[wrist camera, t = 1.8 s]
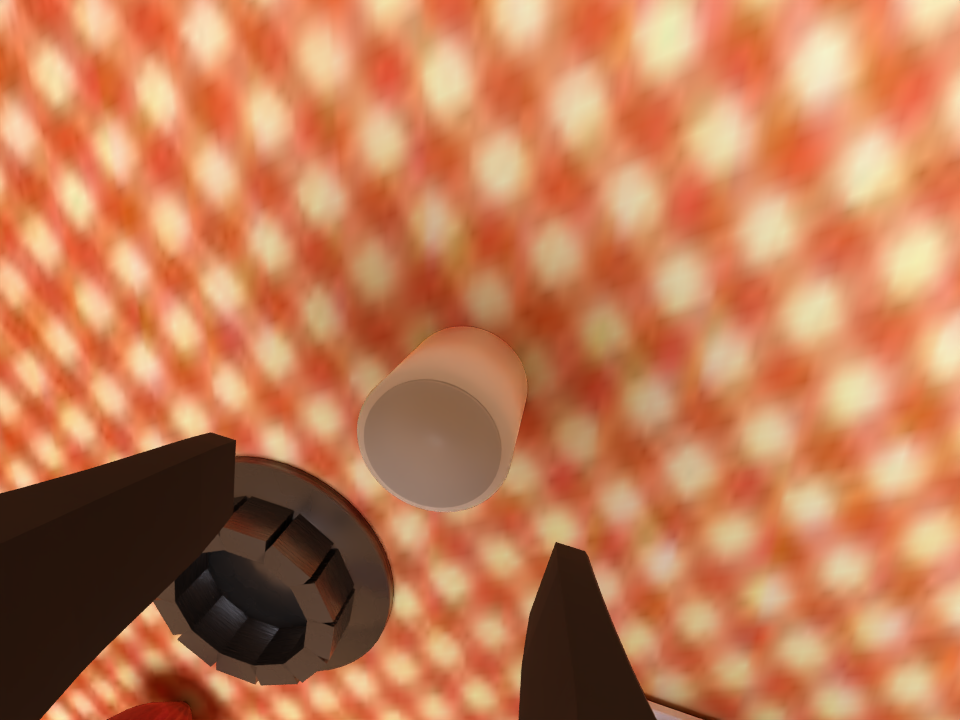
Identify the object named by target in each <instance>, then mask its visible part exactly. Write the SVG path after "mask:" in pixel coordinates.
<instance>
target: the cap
mask: <svg viewBox="0 0 960 720" xmlns="http://www.w3.org/2000/svg"><path fill="white" fill-rule="evenodd" d="M527 391H528V385H527V377H526V373H525V370H524V367H523V365H522V363H521V361H520V359H519V357H518V356H517V354H516V353H515V351H514V350H513V349H512V348H511V347H510V346H509V345H508V344H507V343H506V342H505V341H503V340H502V339H501V338H499V337H498V336H496V335H494V334H492V333H490V332H488V331H486V330H483V329H480V328H475V327H469V326H455V327H450V328H446V329H443V330H440V331H438V332H436V333H434V334H432V335H431V336H429V337H428V338H426V339H425V340H424V341H423V342H422V343H421V344H420V345H419V346H418V347H417V348H416V349H415V350H414V351H413V352H412V353H410V354H409V355H408V356H407V357H406V358H405V359H404V360H403V361H402V362H401V363H400V364H399V365H398V366H397V367H396V368H395V369H394V370H393V371H392V372H391V373H390V374H389V375H387V376H386V377H385V378H384V379H383V380H382V381H381V382H380V383H379V384H378V385H377V386H376V387H375V388H374V389H373V390H372V391H371V392H370V394H369V395H368V396H367V398H366V400H365V401H364V403H363V405H362V408H361V410H360V413H359V417H358V423H357V438H358V444H359V449H360V452H361V455H362V457H363V460H364V462H365V464H366V466H367V467H368V469H369V471H370V472H371V474H372V475H373V476H374V477H375V479H376V480H377V481H378V482H379V483H380V484H381V485H382V486H383V487H384V488H385V489H386V490H387V491H389V492H390V493H391V494H392V495H394V496H395V497H397V498H398V499H400V500H402V501H404V502H406V503H408V504H410V505H412V506H415V507H418V508H421V509H425V510H429V511H436V512H455V511H461V510H466V509H469V508H472V507H475V506H477V505H479V504H481V503H483V502H484V501H485V500H487V499H488V498H490V497H491V496H492V495H493V494H494V493H495V492H496V491H497V490H498V489H499V488H500V486H501V485H502V484H503V482H504V480H505V478H506V477H507V474H508V472H509V469H510V465H511V461H512V457H513V453H514V449H515V445H516V440H517V436H518V432H519V428H520V424H521V420H522V416H523V411H524V407H525V403H526V399H527Z"/></svg>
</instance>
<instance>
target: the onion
mask: <svg viewBox="0 0 960 720" xmlns="http://www.w3.org/2000/svg"><path fill="white" fill-rule="evenodd" d="M107 720H192V715H191V709H190V706H189V705H188V704H187V703H185V702H182V701H177V702H151V703H147V704H143V705H139V706H135V707H132V708H130V709H127V710H125V711H123V712H121V713H119V714H117V715H115V716H113V717H111V718H109V719H107Z"/></svg>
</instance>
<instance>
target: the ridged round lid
mask: <svg viewBox="0 0 960 720" xmlns="http://www.w3.org/2000/svg"><path fill="white" fill-rule="evenodd" d="M153 602H154V604H155V605H156V607H157V609H158V610H159V612H160V614H161V615H162V617H163V619H164V620H165V622H166V624H167V625H168V627H169V629H170V630H171V632H172V634H173V635H177V634H182V635H181V636H180V637H179V638H178V639H177V640H179V641H180V642H181V643H182V644H184V645H185V646H186V647H187V648H188V649H190V650H191V651H192V652H193V653H195V654H196V655H197V656H198V657H200V658H201V659H202V660H203V661H205V662H206V663H207V664H208V665H209V666H212V665H213V664H214V663H215V662H217V663H216V670H218V671H221V672H224V673H226V674H229V675H232V676H234V677H237V678H240V679H242V680H245V681H248V682H250V683H253V684H256V683H257V681H259V682H260V684H261V685H284V684H298V682H299V681H301V682H304V681H305V680H306V679H308V678H309V677H310V676H312V675H313V674H314V673H316V672H317V671H323V670H330V669H334V668H338V667H342V666H344V665H347V664H349V663H352V662H354V661H355V660H357V659H359V658H360V657H362V656H363V655H364V654H365V653H367V652H368V651H369V650H370V649H371V648H372V647H373V646H374V644H375V643H376V642H377V641H378V639H379V637H380V635H381V633H382V631H383V630H384V627H385V625H386V623H387V621H388V618H389V615H390V612H391V608H392V603H393V579H392V574H391V569H390V565H389V562H388V560H387V557H386V554H385V552H384V550H383V548H382V545H381V543H380V541H379V539H378V538H377V536H376V535H375V533H374V532H373V530H372V529H371V527H370V526H369V524H368V523H367V522H366V521H365V519H364V518H363V517H362V516H361V515H360V513H359V512H358V511H357V510H356V509H355V508H354V507H353V506H352V505H351V504H350V503H349V502H348V501H347V500H346V499H345V498H343V497H342V496H341V495H340V494H338V493H337V492H336V491H335V490H333V489H332V488H331V487H329V486H328V485H326V484H325V483H323V482H321V481H320V480H318V479H317V478H315V477H313V476H311V475H309V474H307V473H305V472H303V471H301V470H299V469H296V468H294V467H291V466H289V465H286V464H283V463H279V462H276V461H272V460H268V459H262V458H254V457H235V478H234V506H233V515H232V516H231V518H230V519H229V520H228V521H227V523H226V524H225V525H224V527H223V528H222V529H221V530H220V532H219V533H218V534H217V536H216V537H215V538H214V539H213V540H212V542H211V543H210V544H209V545H208V546H207V547H206V549H205V550H204V551H203V552H202V553H201V555H200V556H199V557H198V558H197V559H196V560H195V561H194V562H193V563H192V564H191V565H190V566H189V567H188V568H187V569H186V570H185V571H184V572H183V573H182V574H181V575H180V576H179V577H178V578H176V579H175V580H174V581H173V582H172V583H171V584H170V585H169V586H168V587H167V588H166V589H165V590H164V591H163V592H162V593H161V594H160V595H159V596H158V597H157V598H156V599H155V600H154V601H153Z"/></svg>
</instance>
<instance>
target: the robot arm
mask: <svg viewBox="0 0 960 720" xmlns="http://www.w3.org/2000/svg"><path fill="white" fill-rule="evenodd" d="M235 450H236V440H233V439H230V438H227V437H224V436H221V435H217V434H214V433H207V434H203V435H199V436H195V437H191V438H188V439H185V440H181V441H178V442H175V443H171V444H168V445H165V446H162V447H158V448H155V449H152V450H149V451H146V452H143V453H139V454H136V455H133V456H130V457H127V458H123V459H120V460H117V461H114V462H110V463H107V464H104V465H101V466H97V467H94V468H91V469H88V470H84V471H80V472H77V473H73V474H70V475H66V476H63V477H59V478H55V479H52V480H48V481H45V482H41V483H38V484H34V485H31V486H27V487H23V488H20V489H16V490H12V491H8V492H4V493H0V720H40V719H41V718H42V716H43V715H44V714H45V713H46V712H47V711H48V710H49V709H50V707H51V706H52V705H53V704H54V703H55V702H56V701H57V699H58V698H59V697H60V696H61V695H62V694H63V693H64V691H65V690H66V689H67V688H68V687H69V686H70V685H71V684H72V682H73V681H74V680H75V679H76V678H77V677H78V676H79V674H80V673H81V672H82V671H83V670H84V669H85V668H86V667H87V666H88V665H89V664H90V663H91V662H92V661H93V660H94V659H95V658H96V657H97V656H98V655H99V654H100V653H101V651H102V650H103V649H104V648H105V647H106V646H107V645H108V644H110V643H111V642H112V641H113V640H114V639H115V638H116V637H117V636H118V635H119V634H120V633H121V632H122V631H123V630H124V629H125V628H126V627H127V626H128V625H129V624H130V623H131V622H132V621H133V620H134V619H135V618H136V617H137V616H138V615H139V614H140V613H142V612H143V611H144V610H145V609H146V608H147V607H148V606H149V605H150V604H151V603H152V602H153V601H154V600H155V599H156V598H157V597H158V596H159V595H160V594H161V593H162V592H163V591H164V590H165V589H166V588H167V587H168V586H169V585H170V584H171V583H172V582H173V581H174V580H175V579H176V578H178V577H179V576H180V575H181V574H182V573H183V572H184V571H185V570H186V569H187V568H188V567H189V566H190V565H191V564H192V563H193V562H194V561H195V560H196V559H197V558H198V557H199V556H200V555H201V553H202V552H203V551H204V550H205V549H206V547H207V546H208V545H209V544H210V543H211V542H212V540H213V539H214V538H215V537H216V536H217V534H218V533H219V532H220V530H221V529H222V528H223V527H224V525H225V524H226V523H227V521H228V520H229V519H230V518H231V516H232V515H233V506H234V478H235ZM519 720H703V719H700V718H697V717H694V716H691V715H688V714H685V713H683V712H680V711H677V710H674V709H671V708H668V707H665V706H662V705H659V704H657V703H654V702H651V701H648V700H647V698H646V696H645V694H644V692H643V690H642V688H641V686H640V684H639V682H638V680H637V678H636V675H635V673H634V671H633V669H632V667H631V664H630V662H629V660H628V658H627V655H626V653H625V651H624V648H623V646H622V644H621V641H620V639H619V637H618V634H617V632H616V630H615V627H614V625H613V622H612V620H611V617H610V615H609V612H608V610H607V607H606V605H605V602H604V599H603V597H602V594H601V591H600V589H599V586H598V583H597V580H596V578H595V575H594V572H593V569H592V566H591V563H590V560H589V557H588V556H587V554H586V552H585V551H582V550H579V549H576V548H573V547H570V546H567V545H564V544H560V543H557V542H556V543H555V546H554V549H553V551H552V554H551V557H550V560H549V562H548V565H547V568H546V571H545V573H544V576H543V579H542V581H541V584H540V587H539V590H538V592H537V595H536V598H535V601H534V603H533V606H532V609H531V612H530V616H529V622H528V628H527V634H526V640H525V647H524V654H523V660H522V670H521V687H520V705H519Z"/></svg>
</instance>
